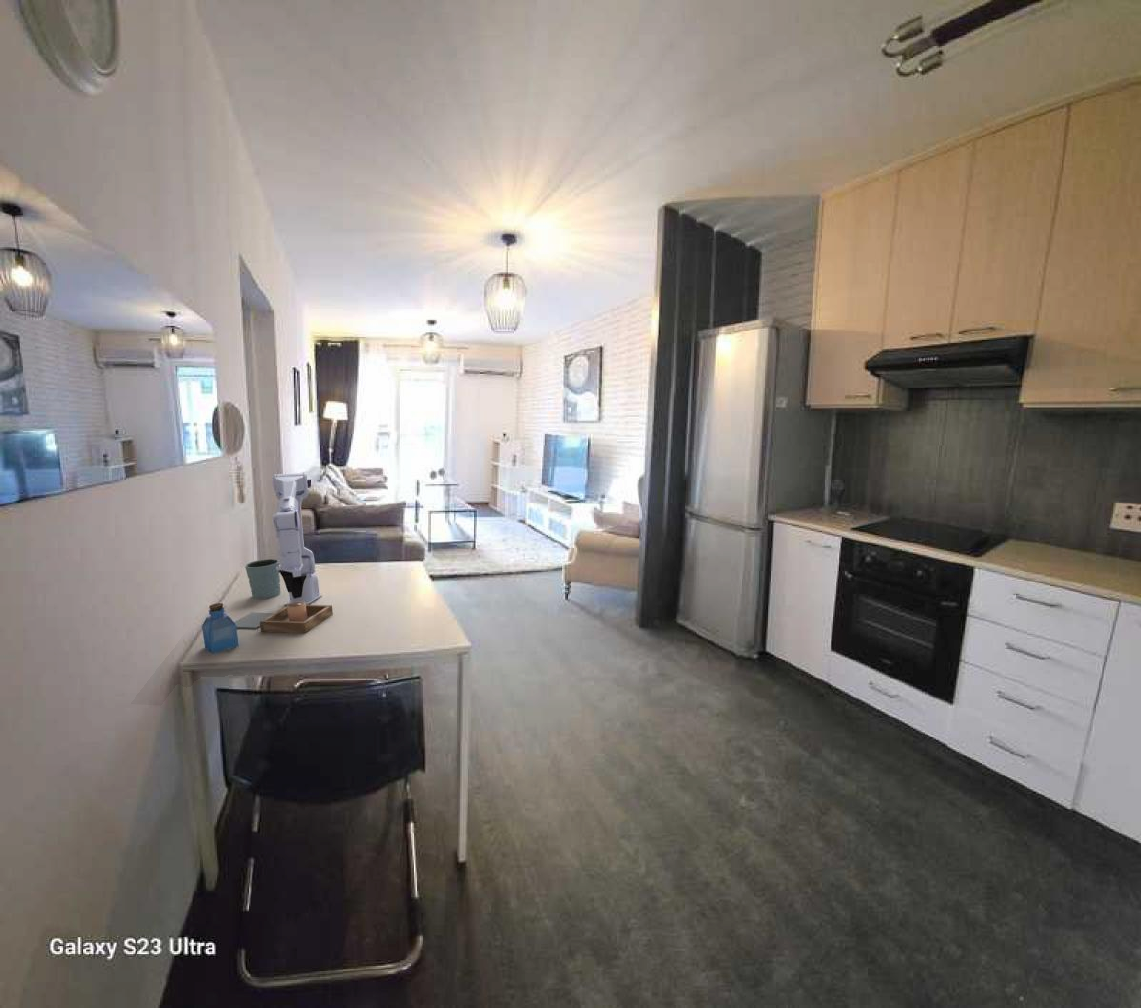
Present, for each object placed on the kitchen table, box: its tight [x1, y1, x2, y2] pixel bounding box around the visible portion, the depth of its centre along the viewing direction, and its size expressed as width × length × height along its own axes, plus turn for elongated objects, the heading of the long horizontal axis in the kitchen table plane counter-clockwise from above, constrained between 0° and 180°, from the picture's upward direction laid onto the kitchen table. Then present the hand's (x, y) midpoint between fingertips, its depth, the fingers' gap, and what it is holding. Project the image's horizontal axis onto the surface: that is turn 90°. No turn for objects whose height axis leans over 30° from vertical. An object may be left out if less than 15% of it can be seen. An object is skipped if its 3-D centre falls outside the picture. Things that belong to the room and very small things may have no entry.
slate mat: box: [233, 611, 275, 630], centre depth 154 cm, size 11×10×1 cm
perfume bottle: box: [201, 602, 239, 654], centre depth 136 cm, size 6×6×12 cm
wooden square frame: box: [259, 604, 334, 634], centre depth 153 cm, size 14×14×3 cm
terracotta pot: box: [286, 601, 308, 622], centre depth 152 cm, size 5×5×6 cm
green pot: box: [244, 558, 281, 600], centre depth 176 cm, size 10×10×12 cm
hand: (294, 594), depth 151 cm, fingers open, 7 cm apart
